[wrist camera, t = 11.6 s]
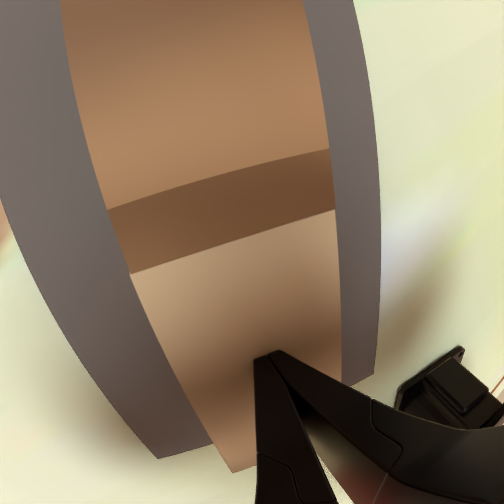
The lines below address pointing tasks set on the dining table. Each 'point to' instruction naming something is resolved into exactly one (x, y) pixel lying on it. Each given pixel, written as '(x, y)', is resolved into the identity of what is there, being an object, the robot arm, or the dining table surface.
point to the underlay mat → (103, 235)
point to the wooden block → (199, 119)
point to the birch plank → (246, 320)
